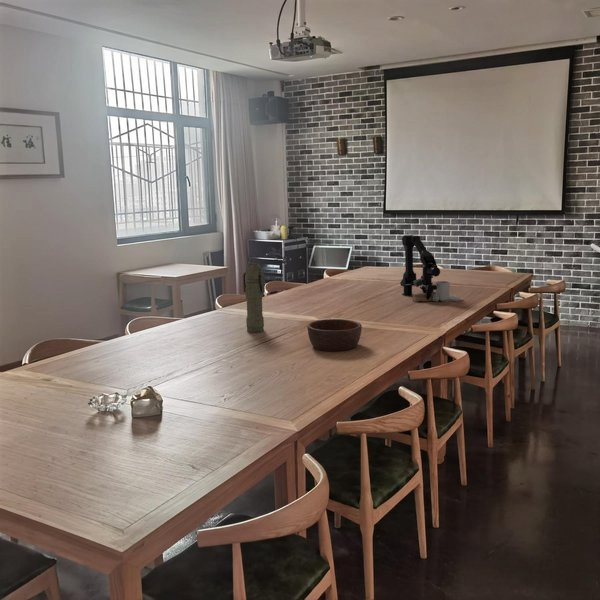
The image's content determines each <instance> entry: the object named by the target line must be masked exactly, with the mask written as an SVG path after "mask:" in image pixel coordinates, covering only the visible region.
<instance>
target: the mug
mask: <svg viewBox="0 0 600 600" xmlns="http://www.w3.org/2000/svg"><path fill="white" fill-rule="evenodd" d="M433 284H434V285H436V286H437V290H433V292H432V293H433V294H436V295H438V296H439V300H442V301H444V300H449V296H450V290H451V289H450V281H445V280H439V281H438V280H437V281H436V282H435V283H433Z"/></svg>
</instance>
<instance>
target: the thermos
mask: <svg viewBox="0 0 600 600" xmlns="http://www.w3.org/2000/svg"><path fill="white" fill-rule="evenodd" d="M265 283H266V279H265V274H264V272H262V270H261V266H260V263H258V262H250V263H247V264H246V267H245V272H243V273H242V289H243V293H244V294H245V298H246V318H245V321H246V323H245V324H246V332H247V333H250V334H259V333H263V332H265V330H264V326H265V320H264V319H265V318H264V315H263V298H264V294H265V292H266V290H265V288H266V286H265V285H266V284H265Z"/></svg>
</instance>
